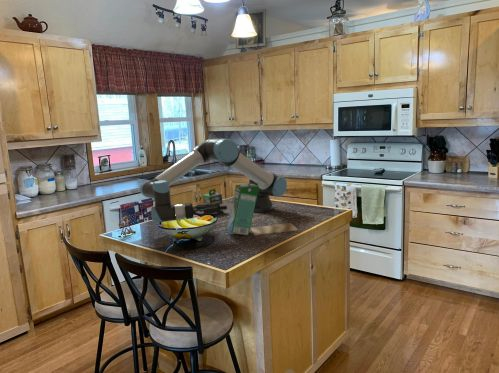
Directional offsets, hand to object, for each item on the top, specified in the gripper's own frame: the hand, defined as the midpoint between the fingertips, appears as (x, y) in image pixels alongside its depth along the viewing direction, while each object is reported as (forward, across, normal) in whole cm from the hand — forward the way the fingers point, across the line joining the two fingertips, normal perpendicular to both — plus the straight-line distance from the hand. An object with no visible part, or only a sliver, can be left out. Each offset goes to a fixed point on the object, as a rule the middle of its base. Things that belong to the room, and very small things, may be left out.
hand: (233, 206), depth 191 cm
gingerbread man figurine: (-55, -23, -15) cm, 62 cm away
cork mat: (+20, -2, -15) cm, 25 cm away
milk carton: (+1, -1, -14) cm, 14 cm away
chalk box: (-7, -50, -15) cm, 53 cm away
